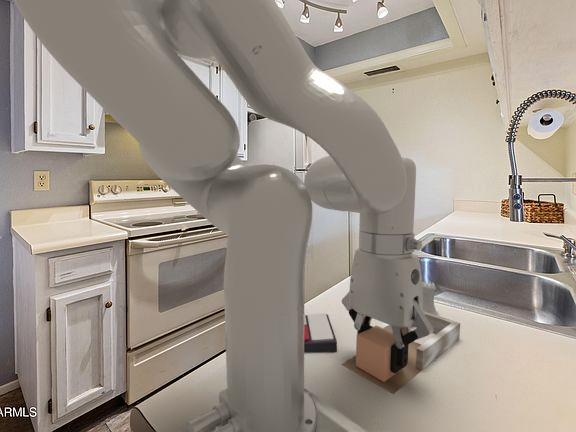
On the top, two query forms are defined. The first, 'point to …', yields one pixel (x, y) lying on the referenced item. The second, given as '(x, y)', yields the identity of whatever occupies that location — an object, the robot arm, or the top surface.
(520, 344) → the top surface
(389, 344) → the block
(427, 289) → the rook chess piece
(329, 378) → the top surface
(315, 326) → the calculator
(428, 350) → the metal sorting tray
